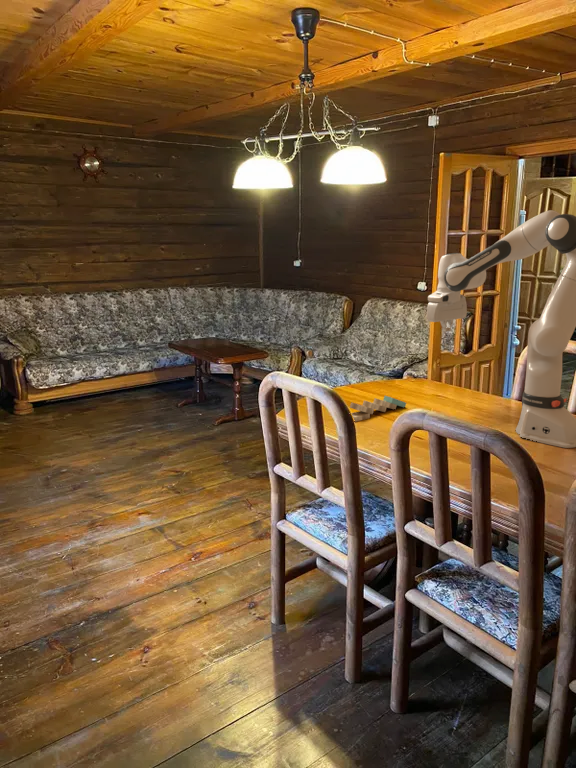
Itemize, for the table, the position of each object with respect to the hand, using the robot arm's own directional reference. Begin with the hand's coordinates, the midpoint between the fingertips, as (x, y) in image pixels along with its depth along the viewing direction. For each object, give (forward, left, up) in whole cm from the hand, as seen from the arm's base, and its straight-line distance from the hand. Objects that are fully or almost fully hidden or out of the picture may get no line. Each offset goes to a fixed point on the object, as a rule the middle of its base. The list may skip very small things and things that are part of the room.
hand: (446, 331), depth 232 cm
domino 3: (+7, +27, -28) cm, 40 cm away
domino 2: (+6, +37, -28) cm, 47 cm away
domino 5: (+7, +16, -28) cm, 33 cm away
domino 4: (+7, +21, -28) cm, 36 cm away
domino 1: (+6, +35, -28) cm, 45 cm away
